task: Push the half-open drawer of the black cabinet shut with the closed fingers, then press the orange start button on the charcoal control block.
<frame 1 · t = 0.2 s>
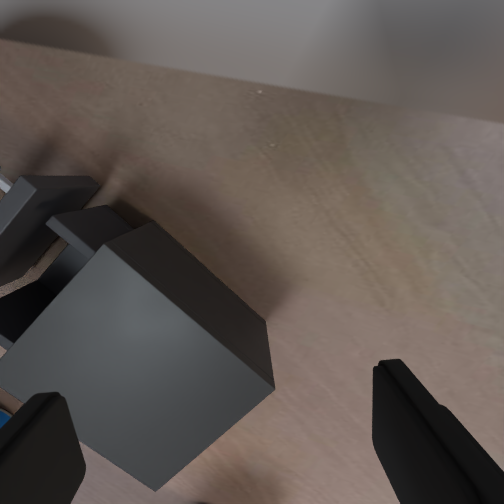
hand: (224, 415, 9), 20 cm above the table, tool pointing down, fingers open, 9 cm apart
black cabinet: (169, 316, 29), on the table
drawer: (65, 272, 23), point 5 cm above the table, slide at 5.0 cm
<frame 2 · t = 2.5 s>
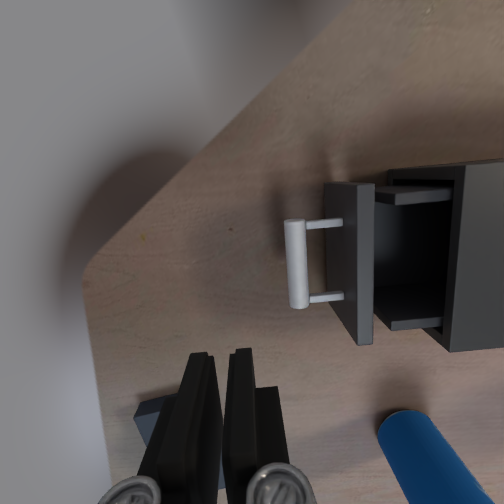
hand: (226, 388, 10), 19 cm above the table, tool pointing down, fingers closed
beverage can: (401, 426, 34), on the table
black cabinet: (461, 229, 28), on the table
control block: (191, 435, 34), on the table
drawer: (394, 250, 24), point 5 cm above the table, slide at 5.0 cm
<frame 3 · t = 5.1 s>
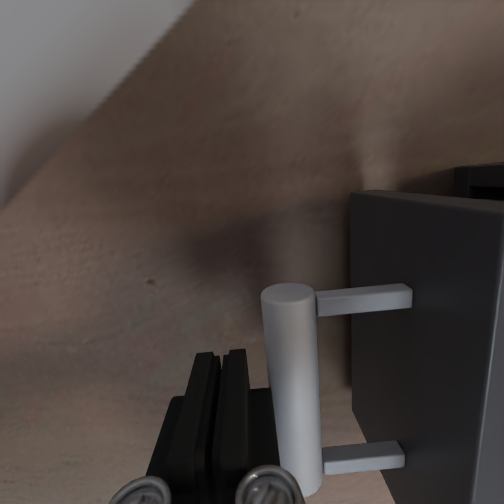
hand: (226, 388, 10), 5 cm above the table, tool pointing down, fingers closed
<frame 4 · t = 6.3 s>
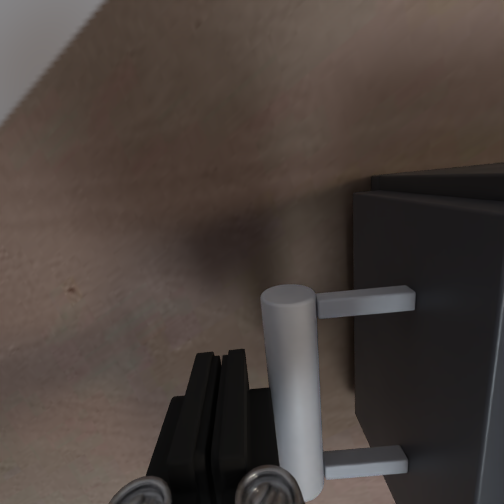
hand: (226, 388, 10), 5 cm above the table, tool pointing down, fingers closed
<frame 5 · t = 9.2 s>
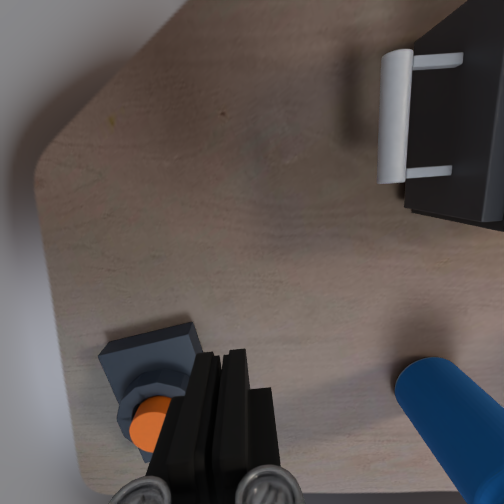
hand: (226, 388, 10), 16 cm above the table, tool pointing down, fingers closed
beverage can: (421, 379, 29), on the table
start button: (157, 423, 24), point 4 cm above the table, slide at 0.1 cm
control block: (171, 385, 28), on the table
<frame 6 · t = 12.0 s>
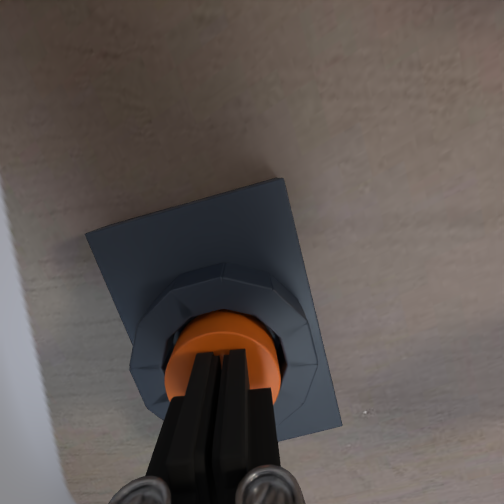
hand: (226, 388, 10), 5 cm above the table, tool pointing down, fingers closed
start button: (224, 368, 11), point 4 cm above the table, slide at -0.3 cm, touching gripper
control block: (229, 316, 15), on the table
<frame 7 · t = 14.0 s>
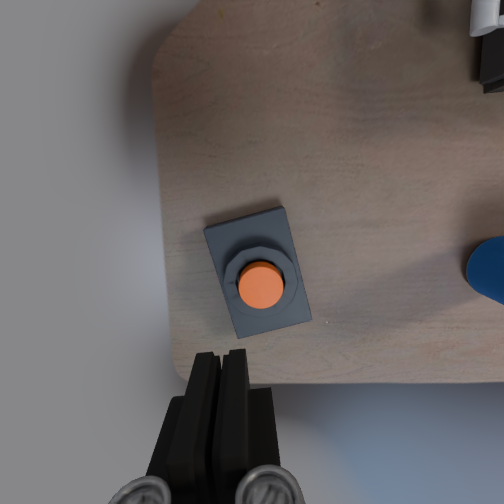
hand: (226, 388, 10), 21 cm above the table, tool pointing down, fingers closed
beverage can: (490, 264, 31), on the table
start button: (260, 284, 27), point 4 cm above the table, slide at 0.1 cm
control block: (259, 270, 31), on the table
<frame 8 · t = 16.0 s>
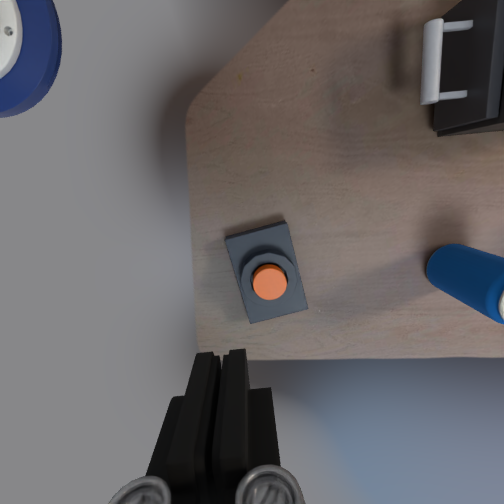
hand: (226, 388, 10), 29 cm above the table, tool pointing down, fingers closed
beverage can: (445, 264, 40), on the table
black cabinet: (503, 72, 34), on the table
start button: (269, 281, 35), point 4 cm above the table, slide at 0.1 cm
control block: (266, 270, 39), on the table
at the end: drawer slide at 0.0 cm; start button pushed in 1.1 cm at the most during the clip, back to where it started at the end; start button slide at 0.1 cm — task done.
